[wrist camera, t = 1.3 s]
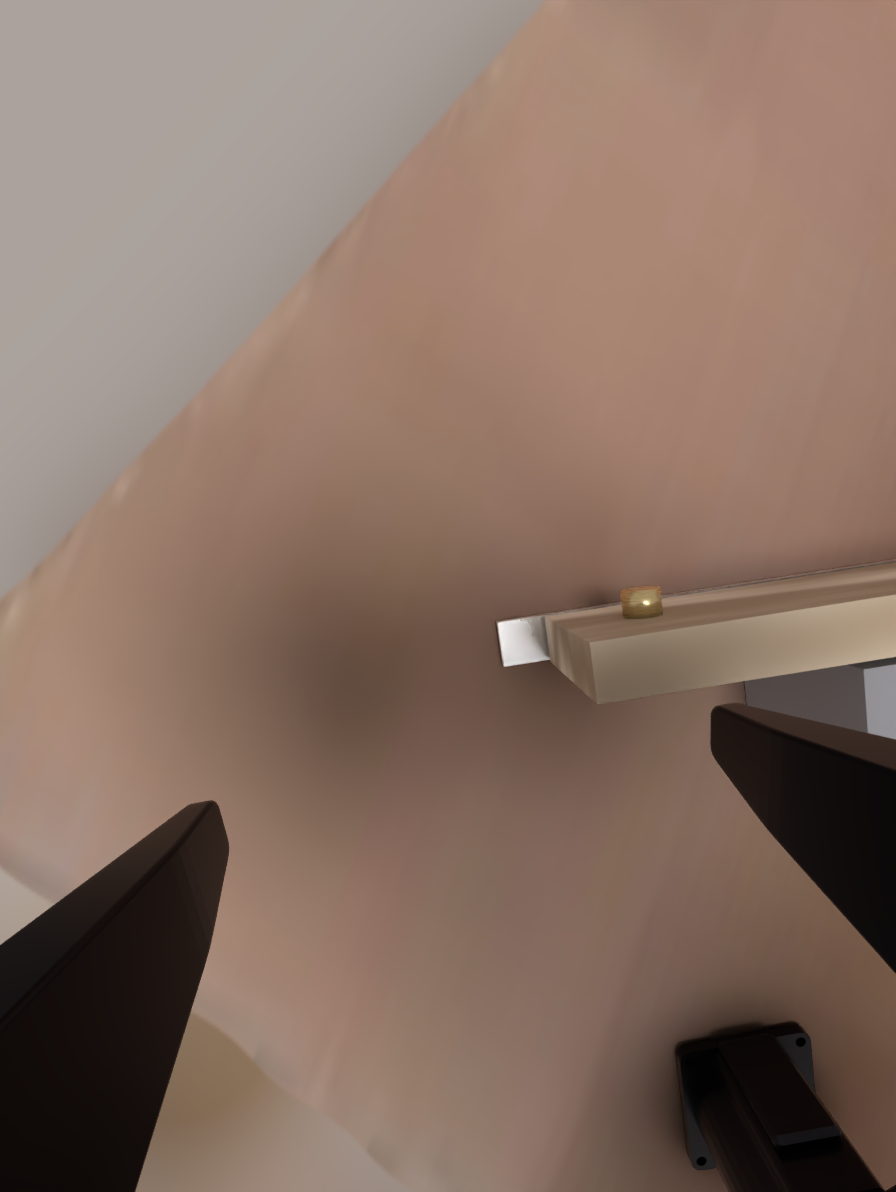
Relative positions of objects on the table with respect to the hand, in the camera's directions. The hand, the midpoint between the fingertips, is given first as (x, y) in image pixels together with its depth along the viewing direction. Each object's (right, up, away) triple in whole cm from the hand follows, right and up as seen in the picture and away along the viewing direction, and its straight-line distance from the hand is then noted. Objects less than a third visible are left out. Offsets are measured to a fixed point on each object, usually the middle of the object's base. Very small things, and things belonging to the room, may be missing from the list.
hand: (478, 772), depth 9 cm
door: (+13, +3, +13) cm, 18 cm away
